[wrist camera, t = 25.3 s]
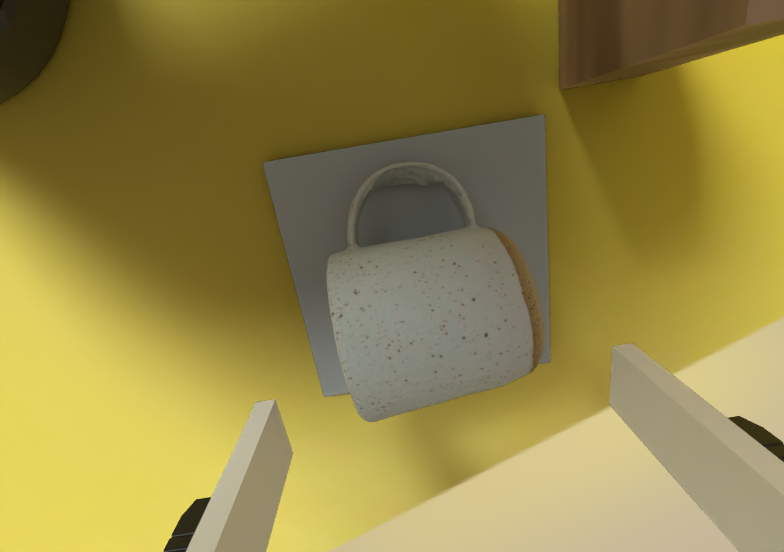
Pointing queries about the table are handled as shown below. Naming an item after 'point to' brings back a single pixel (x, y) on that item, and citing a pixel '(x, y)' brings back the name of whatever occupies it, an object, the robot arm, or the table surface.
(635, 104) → the table surface
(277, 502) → the robot arm
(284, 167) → the mat
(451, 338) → the ceramic mug
